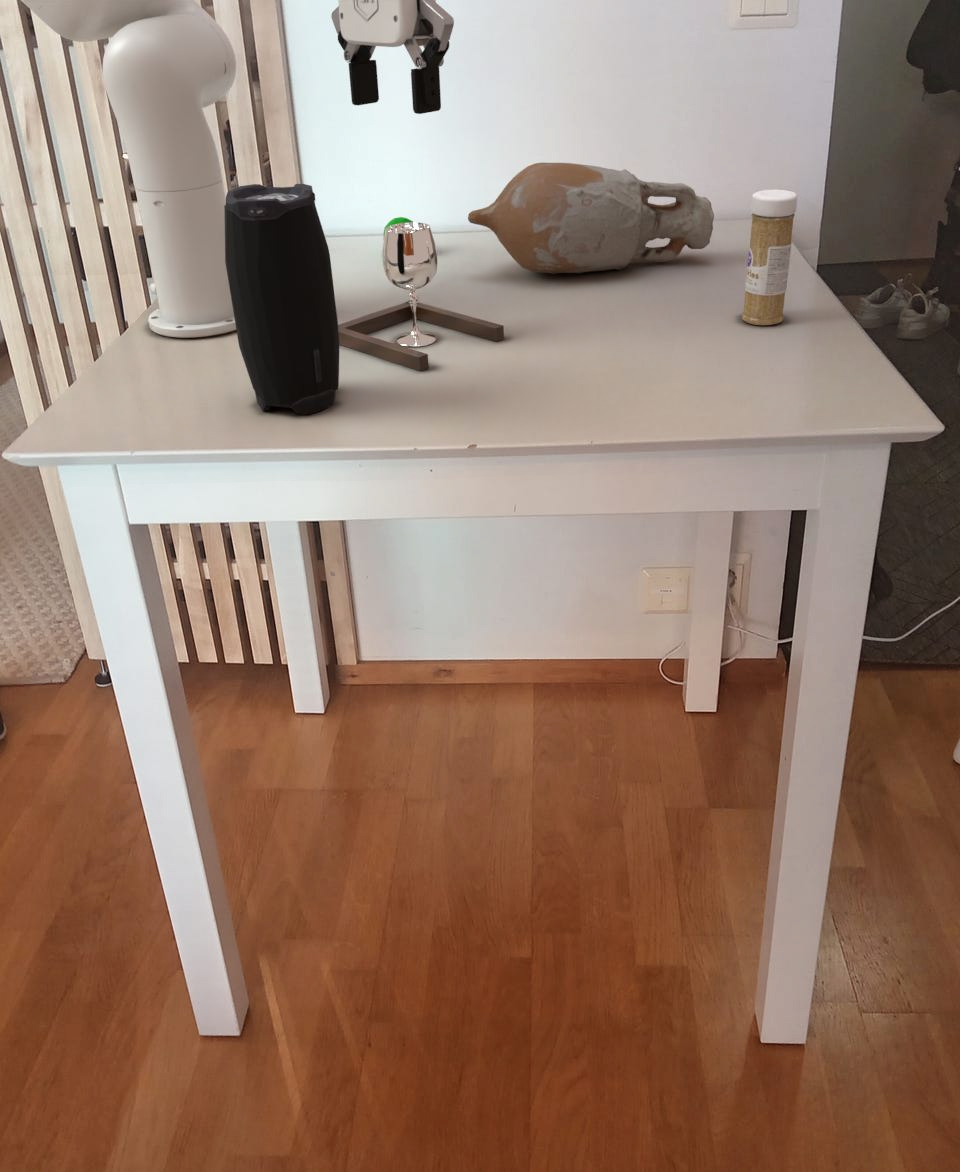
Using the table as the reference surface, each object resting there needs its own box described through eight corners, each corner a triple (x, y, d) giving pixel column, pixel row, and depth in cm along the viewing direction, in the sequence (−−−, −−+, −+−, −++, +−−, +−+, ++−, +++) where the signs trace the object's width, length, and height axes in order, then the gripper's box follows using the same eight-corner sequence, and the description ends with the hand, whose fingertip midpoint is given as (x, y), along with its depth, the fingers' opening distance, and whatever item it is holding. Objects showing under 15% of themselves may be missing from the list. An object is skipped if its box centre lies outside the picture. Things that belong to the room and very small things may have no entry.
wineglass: (435, 349, 114) (427, 235, 108) (383, 348, 115) (373, 234, 109) (447, 331, 119) (441, 221, 113) (398, 330, 120) (388, 221, 114)
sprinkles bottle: (734, 316, 119) (744, 190, 112) (772, 311, 120) (784, 186, 113) (753, 329, 115) (765, 199, 108) (791, 324, 116) (806, 195, 109)
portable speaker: (243, 394, 106) (207, 187, 95) (335, 379, 108) (310, 175, 98) (258, 425, 99) (221, 206, 89) (356, 408, 101) (332, 193, 91)
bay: (328, 341, 118) (327, 327, 117) (412, 312, 125) (411, 300, 125) (420, 371, 109) (419, 357, 108) (504, 338, 116) (503, 325, 115)
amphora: (454, 165, 134) (688, 103, 133) (480, 280, 145) (697, 223, 144) (467, 211, 124) (721, 144, 123) (495, 330, 135) (727, 270, 134)
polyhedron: (423, 249, 150) (421, 214, 147) (417, 259, 145) (414, 222, 143) (389, 249, 150) (385, 214, 148) (381, 259, 146) (377, 223, 144)
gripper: (295, -88, 103) (315, 105, 112) (412, -93, 92) (424, 120, 102) (356, -89, 108) (371, 96, 117) (475, -95, 97) (481, 110, 106)
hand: (395, 107), depth 109 cm, fingers open, 9 cm apart
